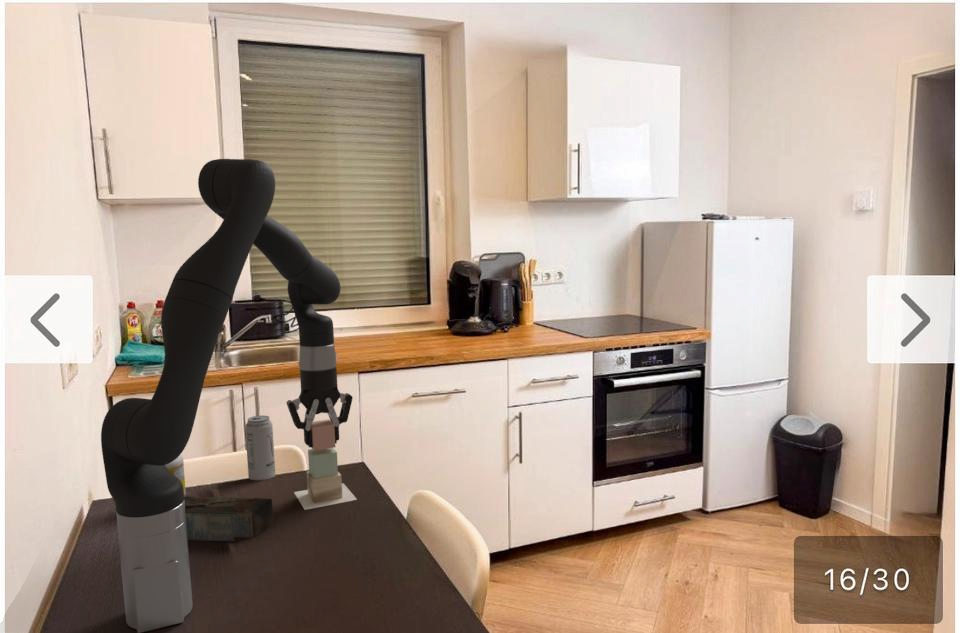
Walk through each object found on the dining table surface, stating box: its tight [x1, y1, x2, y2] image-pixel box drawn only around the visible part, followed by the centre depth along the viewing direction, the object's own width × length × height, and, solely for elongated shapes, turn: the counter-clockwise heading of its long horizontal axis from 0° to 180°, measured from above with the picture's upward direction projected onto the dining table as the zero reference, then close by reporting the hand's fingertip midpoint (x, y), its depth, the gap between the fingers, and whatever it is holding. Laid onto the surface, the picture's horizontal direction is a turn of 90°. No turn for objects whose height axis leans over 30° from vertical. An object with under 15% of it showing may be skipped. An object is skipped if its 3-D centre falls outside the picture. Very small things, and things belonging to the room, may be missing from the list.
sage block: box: [307, 447, 339, 479], centre depth 146 cm, size 5×5×5 cm
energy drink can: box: [245, 415, 276, 481], centre depth 160 cm, size 6×6×15 cm
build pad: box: [293, 483, 358, 511], centre depth 147 cm, size 11×11×1 cm
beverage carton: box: [184, 495, 274, 543], centre depth 132 cm, size 8×19×7 cm, turn 81°
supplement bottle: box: [165, 454, 187, 497], centre depth 148 cm, size 7×7×13 cm
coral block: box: [310, 418, 336, 451], centre depth 145 cm, size 4×4×5 cm
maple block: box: [306, 470, 343, 503], centre depth 147 cm, size 6×6×5 cm
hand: (322, 444), depth 146 cm, fingers closed on coral block, 4 cm apart
